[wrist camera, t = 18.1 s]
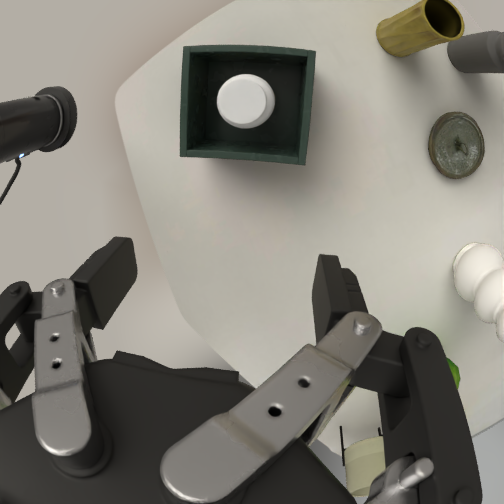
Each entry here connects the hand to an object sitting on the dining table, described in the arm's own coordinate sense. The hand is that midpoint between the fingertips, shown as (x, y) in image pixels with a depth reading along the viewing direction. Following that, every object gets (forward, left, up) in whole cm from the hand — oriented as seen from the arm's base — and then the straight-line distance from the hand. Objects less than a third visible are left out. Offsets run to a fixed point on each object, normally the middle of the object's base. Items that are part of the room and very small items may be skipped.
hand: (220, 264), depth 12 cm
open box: (+2, +6, -31) cm, 31 cm away
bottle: (+35, -1, -31) cm, 47 cm away
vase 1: (+25, +5, -31) cm, 40 cm away
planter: (-13, -77, -31) cm, 84 cm away
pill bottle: (+2, +6, -30) cm, 31 cm away
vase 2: (+23, -35, -31) cm, 52 cm away
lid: (+26, -13, -31) cm, 43 cm away
